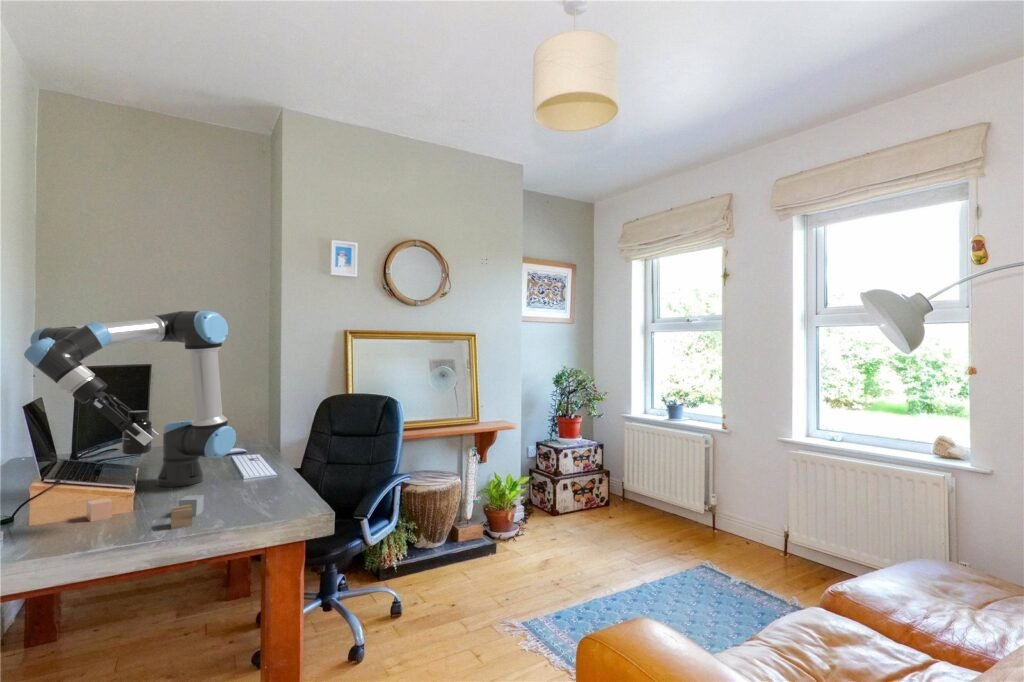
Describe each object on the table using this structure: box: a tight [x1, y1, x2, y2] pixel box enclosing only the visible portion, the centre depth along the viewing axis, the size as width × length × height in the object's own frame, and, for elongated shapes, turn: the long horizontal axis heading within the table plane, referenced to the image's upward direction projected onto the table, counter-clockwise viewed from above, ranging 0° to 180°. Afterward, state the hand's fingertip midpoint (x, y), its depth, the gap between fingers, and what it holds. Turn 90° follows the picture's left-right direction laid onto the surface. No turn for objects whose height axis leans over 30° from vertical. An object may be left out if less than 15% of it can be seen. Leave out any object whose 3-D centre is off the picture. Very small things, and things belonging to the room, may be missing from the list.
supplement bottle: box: [121, 409, 153, 456], centre depth 149 cm, size 7×7×12 cm
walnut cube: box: [170, 505, 193, 530], centre depth 148 cm, size 5×5×5 cm
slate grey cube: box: [178, 494, 205, 517], centre depth 159 cm, size 5×5×5 cm
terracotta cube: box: [86, 497, 113, 522], centre depth 153 cm, size 5×5×5 cm
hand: (151, 439), depth 151 cm, fingers closed on supplement bottle, 7 cm apart
